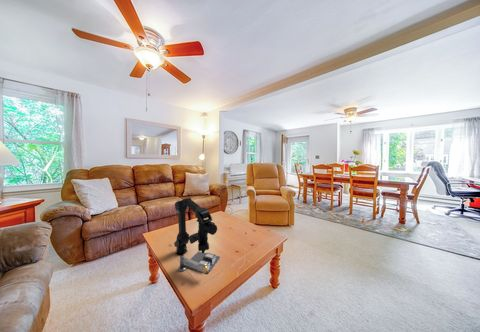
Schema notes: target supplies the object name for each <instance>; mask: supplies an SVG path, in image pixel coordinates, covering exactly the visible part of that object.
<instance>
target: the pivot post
mask: <svg viewBox="0 0 480 332" xmlns="http://www.w3.org/2000/svg"><path fill="white" fill-rule="evenodd" d="M184 258H185V254H184V255H179V267H177V271H178V272H180V273H182V272H184V271H186V270H187V267H186V266H184V264H183V259H184Z"/></svg>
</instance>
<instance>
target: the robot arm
mask: <svg viewBox="0 0 480 332" xmlns="http://www.w3.org/2000/svg"><path fill="white" fill-rule="evenodd" d="M174 208H175V211H176V213H177V215H178V216H177V218H178V234H177V235H176V240H175V241H174V242H173V244H174V247H176V252H175V255H178V256H181V255H184V256H185V254H186V253H187V252H188V251H189V250H188V249H187V244H189V243H190V244H194V243H196V242H198V243H197V245H198V246H197V249H198V250H197V252H198V251H199V252H202V253H206V252H205V251H208V250H209V249H210V243H209V240H208V239H209V236H208V235H209V234H210V235H211V236H212V235H213V236H214V235H215V234H216V233H217V231H218V226H217V225H216V224H215V222H213V217H212V215H211V213H210V211H209V209H207V208H206V207H201V206H200V205H198V203H196V202H195V201H193V200H192V198H191V197H186V198H183V199H181V200H177V201H176V202H175V203H174ZM188 209H190V210H191V211H192V212H193V213H194V215H195V218H196V222H197V223H198V226H197V228H198V229H197V232H195V233H192V234H189V233H188V232H187V225H186V223H187V222H186V212H187V210H188ZM209 251H210V250H209Z"/></svg>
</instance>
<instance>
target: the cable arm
mask: <svg viewBox="0 0 480 332" xmlns="http://www.w3.org/2000/svg"><path fill="white" fill-rule="evenodd" d="M190 259H191V258H187V257H184V259H183V264H184V265H187V266H189V267H191V268H194V269H196V270H195V271H197V270H199V271H198V272H200V271H201V273H203V274H207V265H203V264H201V263H198V262H196V261H193V260H190Z"/></svg>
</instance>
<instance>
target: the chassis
mask: <svg viewBox="0 0 480 332" xmlns="http://www.w3.org/2000/svg"><path fill="white" fill-rule="evenodd" d="M220 258H221V257H220V256H219V255H216V254H214V253H210V252H204V253H202V251H198V250H197V252H196V253H195V254H194V255H192V257H190V258H189V259H190V260H193V261H196V262H198V263H201V264H203V265H207V273H206V274H207V275H209V273H210V272H211V271H212V270H213V268H214V267H215V266H216V265H217V263H218V261H219V260H220ZM184 266H186V269H191V270H194V271H198V272H201V271H199V270H196V269H194V268H191V267H189V266H187V265H184ZM201 273H202V272H201Z"/></svg>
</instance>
